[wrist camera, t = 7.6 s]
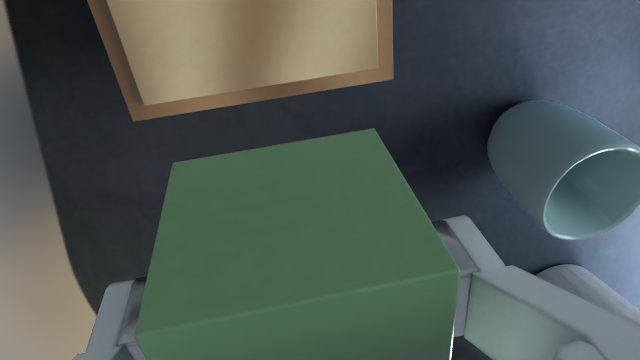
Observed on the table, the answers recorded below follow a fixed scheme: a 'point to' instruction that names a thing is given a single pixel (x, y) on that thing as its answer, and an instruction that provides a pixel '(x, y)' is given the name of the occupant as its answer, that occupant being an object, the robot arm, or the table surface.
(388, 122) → the table surface
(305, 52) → the box
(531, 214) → the cup
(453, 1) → the table surface
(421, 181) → the table surface
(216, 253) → the block
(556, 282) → the potted plant
